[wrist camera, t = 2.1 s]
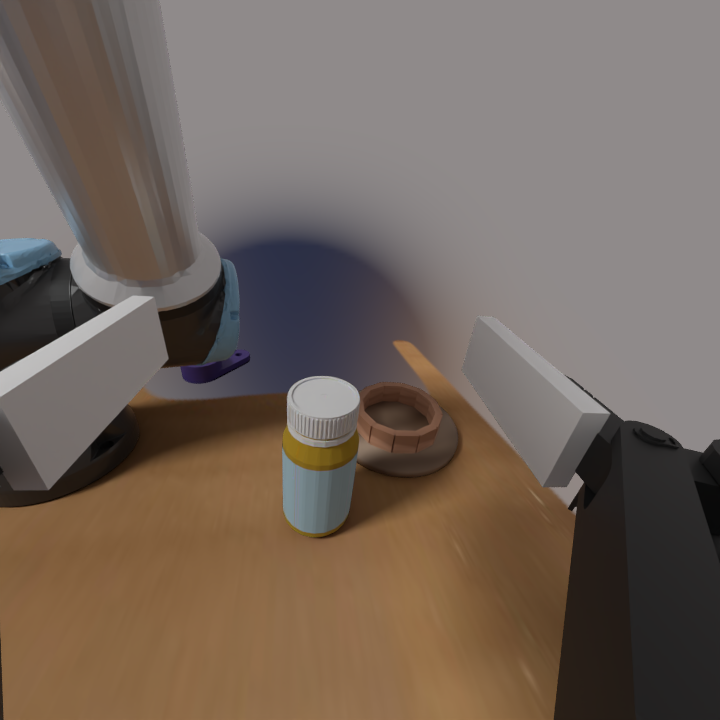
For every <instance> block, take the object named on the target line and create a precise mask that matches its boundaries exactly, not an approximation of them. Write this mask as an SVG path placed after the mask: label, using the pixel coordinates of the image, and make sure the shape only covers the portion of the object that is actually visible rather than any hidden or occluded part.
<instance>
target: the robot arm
mask: <svg viewBox="0 0 720 720" xmlns="http://www.w3.org/2000/svg"><path fill="white" fill-rule="evenodd" d="M0 101H1V103H2V104H3V106H4V108H5V110H6V112H7V114H8V115H9V117H10V119H11V121H12V123H13V124H14V126H15V128H16V130H17V132H18V134H19V135H20V137H21V139H22V141H23V143H24V144H25V146H26V148H27V150H28V152H29V154H30V155H31V157H32V159H33V161H34V163H35V164H36V166H37V168H38V169H39V172H40V174H41V175H42V177H43V179H44V181H45V183H46V184H47V186H48V188H49V190H50V192H51V194H52V195H53V197H54V199H55V201H56V202H57V204H58V206H59V208H60V210H61V212H62V213H63V215H64V217H65V219H66V221H67V223H68V225H69V226H70V228H71V230H72V232H73V233H74V235H75V237H76V239H77V241H78V244H77V245H76V247H75V248H74V250H73V252H72V255H71V258H70V259H69V258H62V257H61V254H62V253H61V251H60V250H59V249H58V248H57V247H56V245H55V244H54V243H53V242H51V241H49V240H46V239H33V238H19V239H4V240H0V507H15V506H24V505H30V504H36V503H40V502H44V501H48V500H51V499H54V498H58V497H60V496H63V495H66V494H68V493H71V492H73V491H76V490H78V489H80V488H82V487H84V486H86V485H88V484H90V483H92V482H94V481H95V480H97V479H99V478H101V477H102V476H104V475H105V474H107V473H108V472H110V471H111V470H112V469H114V468H115V467H116V466H117V465H119V464H120V463H121V462H122V461H123V460H124V459H125V458H126V457H127V456H128V455H129V454H130V452H131V451H132V450H133V448H134V447H135V445H136V443H137V441H138V438H139V433H140V429H139V425H138V422H137V419H136V416H135V413H134V412H133V410H132V408H131V407H130V406H129V405H128V403H129V402H130V401H131V400H132V398H133V397H134V396H135V395H136V394H137V393H138V392H139V391H140V390H141V389H142V388H143V386H144V385H145V384H146V383H147V382H148V381H149V380H150V379H151V378H152V377H153V375H154V374H155V373H156V372H157V371H158V370H159V369H160V368H169V367H180V366H191V365H196V366H201V365H205V364H206V363H211V362H217V361H223V360H226V359H228V358H230V357H231V356H232V355H233V354H234V352H235V350H236V348H237V344H238V338H239V315H238V314H239V288H238V280H237V274H236V270H235V267H234V265H233V263H232V262H231V261H229V260H226V259H223V258H221V257H220V256H219V254H218V252H217V249H216V248H215V246H214V245H213V243H212V242H211V241H210V240H208V238H206V237H205V236H204V235H203V234H201V233H200V232H199V230H198V224H197V219H196V213H195V207H194V201H193V195H192V189H191V184H190V177H189V172H188V167H187V160H186V154H185V148H184V142H183V137H182V130H181V124H180V118H179V113H178V107H177V101H176V95H175V90H174V84H173V78H172V72H171V66H170V60H169V54H168V48H167V42H166V37H165V30H164V24H163V19H162V12H161V7H160V1H159V0H0ZM462 372H463V373H464V375H465V376H466V377H467V379H468V380H469V382H470V383H471V385H472V386H473V387H474V389H475V390H476V392H477V393H478V395H479V396H480V398H481V399H482V400H483V402H484V403H485V405H486V406H487V408H488V409H489V411H490V412H491V413H492V415H493V416H494V418H495V419H496V421H497V422H498V424H499V425H500V426H501V428H502V429H503V431H504V432H505V434H506V435H507V437H508V438H509V439H510V440H511V442H512V444H513V445H514V447H515V448H516V450H517V451H518V452H519V454H520V455H521V457H522V458H523V460H524V461H525V463H526V464H527V465H528V467H529V468H530V470H531V471H532V473H533V474H534V476H535V477H536V478H537V480H538V481H539V483H540V484H541V486H542V487H567V485H568V484H569V482H570V480H571V479H572V477H573V475H574V474H575V472H576V473H577V474H578V475H579V476H580V478H581V479H582V480H583V481H584V484H583V485H582V487H581V488H580V490H579V492H578V493H577V495H576V496H575V498H574V499H573V501H572V502H571V504H570V506H569V508H568V509H569V510H571V511H572V510H573V509H574V507H577V511H576V520H575V529H574V539H573V548H572V557H571V566H570V575H569V584H568V593H567V603H566V612H565V621H564V630H563V639H562V648H561V657H560V667H559V676H558V685H557V694H556V703H555V712H554V720H720V439H719V440H714V441H713V442H712V443H711V444H710V446H709V447H708V448H707V449H706V450H705V451H704V453H701V452H697V451H693V450H688V449H684V448H683V447H682V446H681V444H680V443H679V442H678V441H677V440H676V439H674V438H673V437H672V436H670V435H669V434H667V433H665V432H664V431H662V430H660V429H658V428H655V427H653V426H651V425H648V424H645V423H641V422H638V421H625V422H624V421H623V420H622V419H621V418H619V417H618V416H617V415H615V414H614V413H613V412H612V411H611V410H610V409H608V408H607V407H606V406H605V405H603V404H602V403H601V402H600V401H599V400H597V399H596V398H593V396H592V395H591V394H590V393H589V392H588V391H586V390H584V388H583V387H581V386H580V385H579V384H578V383H576V382H575V381H574V380H573V379H571V378H569V377H567V376H566V375H564V374H562V373H561V372H560V371H559V370H557V369H556V368H555V367H554V366H553V365H551V364H550V363H549V362H548V361H546V360H545V359H544V358H543V357H542V356H540V355H539V354H538V353H537V352H536V351H534V350H533V349H532V348H531V347H530V346H528V345H527V344H526V343H525V342H523V341H522V340H521V339H520V338H519V337H518V336H516V335H515V334H514V333H513V332H511V331H510V330H509V329H508V328H507V327H505V326H504V325H503V324H502V323H501V322H499V321H498V320H497V319H496V318H495V317H489V316H477V318H476V321H475V325H474V329H473V332H472V335H471V339H470V343H469V346H468V349H467V353H466V357H465V360H464V363H463V367H462ZM0 720H3V694H2V667H1V640H0Z"/></svg>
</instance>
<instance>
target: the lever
mask: <svg viewBox="0 0 720 720" xmlns="http://www.w3.org/2000/svg"><path fill="white" fill-rule="evenodd" d="M249 361H250V354H249V352H248V351H246V350H235V352H234V354H233V355H232V356H231V357H230V358H228V359H226V360H223V361H217V362H211V363H206V364H205V365H201V366H196V365H191V366H180V367H181V372H182V376H183V379H184V380H185V381H186V382H188V383H193V384H203V383H208V382H212V381H214V380H216V379H218V378H220V377H222V376H224V375H226V374H228V373H230V372H231V371H233V370H235V369H237V368H239V367H241V366H243V365H245V364H247V363H248V362H249Z"/></svg>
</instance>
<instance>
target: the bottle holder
mask: <svg viewBox="0 0 720 720" xmlns="http://www.w3.org/2000/svg"><path fill="white" fill-rule="evenodd" d="M358 393H359V396H360V407H359V414H358V420H357V431H358V434H359V448H358V455H357V463H359V464H360V465H362V466H364V467H366V468H368V469H370V470H372V471H375V472H377V473H381V474H384V475H388V476H394V477H406V478H409V477H420V476H425V475H428V474H432V473H434V472H436V471H438V470H440V469H442V468H443V467H444V466H446V465H447V464H448V463H449V462H450V460H451V459H452V457H453V456H454V453H455V451H456V448H457V444H458V432H457V428H456V426H455V424H454V422H453V420H452V418H451V417H450V416H449V415H448V413H447V412H446V411H445V410H444V409H443V408H441V407H440V406H439V405H438V403H437V401H436V400H435V399H434V398H432V397H431V396H430V395H428V394H427V393H425V392H424V391H423V390H420V389H419V388H416V387H413V386H410V385H407V384H403V383H402V384H401V383H394V382H382V383H381V382H380V383H377V384H374V385H371V386H368V387H366V388H364V389H363V390H361V391H358Z"/></svg>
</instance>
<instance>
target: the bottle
mask: <svg viewBox="0 0 720 720" xmlns="http://www.w3.org/2000/svg"><path fill="white" fill-rule="evenodd" d="M359 407H360V396H359V393H358V391H357V389H356V388H355V387H354V386H353V385H351V384H350V383H348V382H347V381H344V380H342V379H339V378H335V377H330V376H314V377H309V378H305V379H303V380H300V381H298V382H297V383H295V384H294V385H293V386H292V387H291V388H290V390H289V392H288V396H287V426H286V428H285V431H284V433H283V443H282V456H283V512H284V516H285V519H286V521H287V523H288V524H289V526H290V527H291V528H292V529H293V530H294V531H296V532H298V533H299V534H301V535H304V536H309V537H322V536H326V535H329V534H331V533H333V532H335V531H337V530H338V529H339V528H340V527H341V526H342V525H343V524H344V522H345V521H346V519H347V517H348V514H349V509H350V504H351V497H352V490H353V483H354V476H355V469H356V462H357V455H358V448H359V434H358V431H357V420H358V414H359Z"/></svg>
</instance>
